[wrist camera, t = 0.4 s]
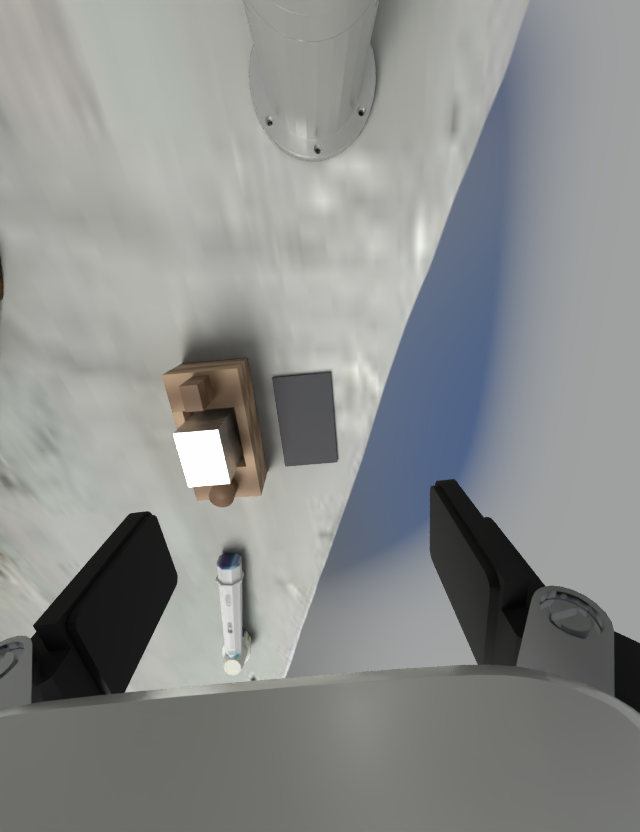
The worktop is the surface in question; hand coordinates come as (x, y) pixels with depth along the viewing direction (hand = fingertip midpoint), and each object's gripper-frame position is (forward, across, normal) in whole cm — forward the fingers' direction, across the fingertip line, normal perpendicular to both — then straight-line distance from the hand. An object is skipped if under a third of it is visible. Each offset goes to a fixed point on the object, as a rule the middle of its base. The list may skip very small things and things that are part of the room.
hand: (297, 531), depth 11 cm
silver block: (+32, +13, +8) cm, 35 cm away
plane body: (+35, +13, +8) cm, 38 cm away
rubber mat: (+35, +2, +10) cm, 36 cm away
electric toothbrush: (+36, +20, +45) cm, 61 cm away
